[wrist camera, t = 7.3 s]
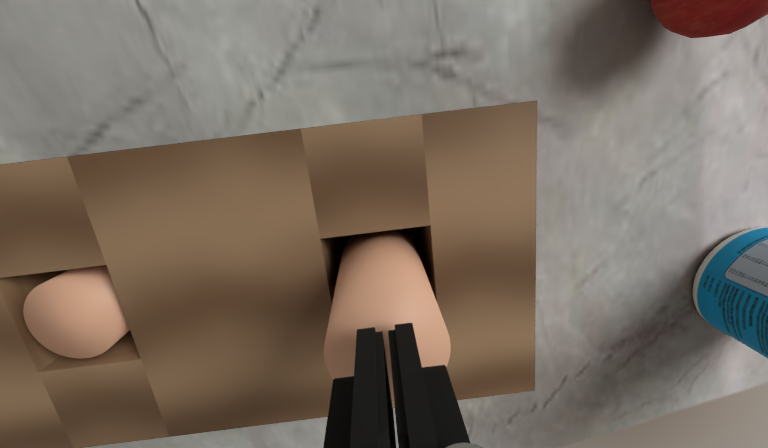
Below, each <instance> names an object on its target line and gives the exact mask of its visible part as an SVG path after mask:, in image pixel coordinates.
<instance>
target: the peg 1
mask: <svg viewBox="0 0 768 448" xmlns="http://www.w3.org/2000/svg"><path fill="white" fill-rule="evenodd" d="M23 314H24V320H25V323H26V325H27V327H28V329H29V331H30V332H31V334H32V335H33V336H34V338H35V339H36V340H37V341H38V342H39V343H40V344H42V345H43V346H44V347H46V348H47V349H49V350H51V351H52V352H55V353H57V354H59V355H62V356H66V357H70V358H80V359H82V358H91V357H95V356H98V355H100V354H102V353H104V352H105V351H107V350H108V349H109V348H110V347H111V346H113V345H114V344H115V343H116V342H117V341H118V340H119V339H120V338H122V337H123V336H124V335H125V334H126V333H127V332H128V331H130V328H129V325H128V323H127V320H126V317H125V314H124V312H123V309H122V306H121V303H120V301H119V298H118V295H117V292H116V290H115V287H114V284H113V281H112V279H111V276H110V273H109V270H108V268H107V265H102V266H93V267H85V268H77V269H70V270H68V271H66V272H64V273H62V274H60V275H58V276H56V277H54V278H52V279H50V280H48V281H46V282H44V283H42V284H40V285H38V286H36V287H35V288H34V289H33V290H32V291H31V292H30V293H29V294H28V296H27V298H26V300H25V303H24V308H23Z"/></svg>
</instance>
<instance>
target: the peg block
mask: <svg viewBox="0 0 768 448" xmlns="http://www.w3.org/2000/svg"><path fill="white" fill-rule="evenodd" d="M536 161H537V101H530V102H521V103H513V104H504V105H496V106H487V107H478V108H470V109H462V110H453V111H445V112H437V113H428V114H420V115H412V116H403V117H395V118H386V119H378V120H370V121H361V122H353V123H345V124H336V125H328V126H320V127H311V128H303V129H294V130H286V131H278V132H269V133H261V134H253V135H244V136H236V137H228V138H219V139H211V140H202V141H194V142H186V143H177V144H169V145H161V146H152V147H144V148H136V149H127V150H119V151H110V152H102V153H94V154H85V155H77V156H69V157H60V158H52V159H44V160H35V161H27V162H18V163H10V164H2V165H0V448H83V447H91V446H99V445H107V444H115V443H123V442H130V441H138V440H146V439H154V438H162V437H170V436H178V435H186V434H194V433H202V432H210V431H217V430H225V429H233V428H241V427H249V426H257V425H265V424H273V423H281V422H289V421H296V420H304V419H312V418H320V417H328V412H329V405H330V398H331V391H332V384H333V379H332V377H331V375H330V374H329V372H328V369H327V367H326V364H325V360H324V343H325V338H326V333H327V328H328V323H329V318H330V313H331V308H332V302H333V297H334V292H335V287H336V282H337V277H338V272H339V267H340V262H341V257H342V252H343V249H344V246H343V239H342V236H347V235H355V234H363V233H372V232H380V231H388V230H396V229H404V228H412V227H413V229H414V239H415V246H416V248H417V251H418V253H419V256H420V259H421V261H422V264H423V267H424V269H425V272H426V275H427V277H428V280H429V283H430V285H431V288H432V291H433V293H434V296H435V299H436V301H437V304H438V307H439V309H440V312H441V315H442V317H443V320H444V322H445V325H446V328H447V330H448V334H449V337H450V343H451V352H450V358H449V362H448V365H447V367H446V368H447V371H448V374H449V377H450V380H451V384H452V387H453V390H454V393H455V396H456V399H457V400H463V399H470V398H478V397H486V396H494V395H502V394H510V393H518V392H526V391H534V390H535V283H536ZM102 265H107V268H108V270H109V273H110V276H111V279H112V281H113V284H114V287H115V290H116V292H117V295H118V298H119V301H120V303H121V306H122V309H123V312H124V314H125V317H126V320H127V323H128V325H129V328H130V331H128V332H127V333H126V334H125V335H124V336H123V337H122V338H120V339H119V340H118V341H117V342H116V343H115V344H114V345H113V346H111V347H110V348H109V349H108V350H107V351H105V352H104V353H102V354H100V355H98V356H95V357H91V358H82V359H80V358H70V357H66V356H62V355H59V354H57V353H55V352H52V351H51V350H49V349H47V348H46V347H44V346H43V345H42V344H40V343H39V342H38V341H37V340H36V339H35V338H34V336H33V335H32V334H31V332H30V331H29V329H28V327H27V325H26V323H25V320H24V314H23V308H24V303H25V300H26V298H27V296H28V294H29V293H30V292H31V291H32V290H33V289H34V288H35V287H36V286H38V285H40V284H42V283H44V282H46V281H48V280H50V279H52V278H54V277H56V276H58V275H60V274H62V273H64V272H66V271H68V270H70V269H77V268H85V267H93V266H102ZM392 407H393V408H395V403H394V404H392Z"/></svg>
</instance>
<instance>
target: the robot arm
mask: <svg viewBox="0 0 768 448" xmlns="http://www.w3.org/2000/svg"><path fill="white" fill-rule="evenodd" d="M388 336H389V347H390V358H391V369H392V380H393V391H394V402H395V413H396V424H397V434H398V443H399V448H483V447H481V446H479V445H476V444H471V443H470V441H469V437H468V434H467V431H466V428H465V425H464V422H463V418H462V415H461V412H460V409H459V406H458V403H457V399H456V396H455V393H454V390H453V387H452V384H451V380H450V377H449V374H448V371H447V368H446V366H445V365H438V366H430V367H422V366H421V361H420V356H419V352H418V347H417V342H416V338H415V333H414V328H413V324H412V323H404V324H396V325H395V330H388ZM324 448H396V441H395V429H394V417H393V407H392V399H391V392H390V384H389V376H388V369H387V361H386V354H385V346H384V339H383V332H382V331H379V332H376V330H375V327H371V328H363V329H357V334H356V351H355V368H354V376H350V377H342V378H334V380H333V384H332V391H331V398H330V405H329V412H328V419H327V427H326V434H325V441H324Z"/></svg>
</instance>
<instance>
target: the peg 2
mask: <svg viewBox="0 0 768 448" xmlns="http://www.w3.org/2000/svg"><path fill="white" fill-rule="evenodd" d="M404 323H412V324H413V328H414V333H415V338H416V342H417V347H418V352H419V356H420V361H421V366H422V367H430V366H438V365H445V366H446V367H447V365H448V362H449V358H450V352H451V343H450V337H449V334H448V330H447V328H446V325H445V322H444V320H443V317H442V315H441V312H440V309H439V307H438V304H437V301H436V299H435V296H434V293H433V291H432V288H431V285H430V283H429V280H428V277H427V275H426V272H425V269H424V267H423V264H422V261H421V259H420V256H419V253H418V251H417V248H416V246H415V244H414V242H413V241H412V239H411V238H410V237H409V236H408V235H407V234H406V233H405V232H404V231H402V230H401V229H396V230H388V231H380V232H372V233H363V234H355V235H352V236H351V237H350V238H349V240H348V241H347V243H346V244H345V246H344V249H343V252H342V257H341V262H340V267H339V272H338V277H337V282H336V287H335V292H334V297H333V302H332V308H331V313H330V318H329V323H328V328H327V333H326V338H325V343H324V360H325V364H326V367H327V369H328V372H329V374H330V375H331V377H332V379H333V380H334V378H342V377H350V376H354V368H355V351H356V334H357V329H363V328H371V327H375V330H376V332H379V331H382V332H383V339H384V346H385V354H386V361H387V369H388V376H389V384H390V392H391V399H392V404H394V403H395V402H394V391H393V380H392V369H391V358H390V347H389V336H388V330H395V325H396V324H404Z"/></svg>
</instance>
